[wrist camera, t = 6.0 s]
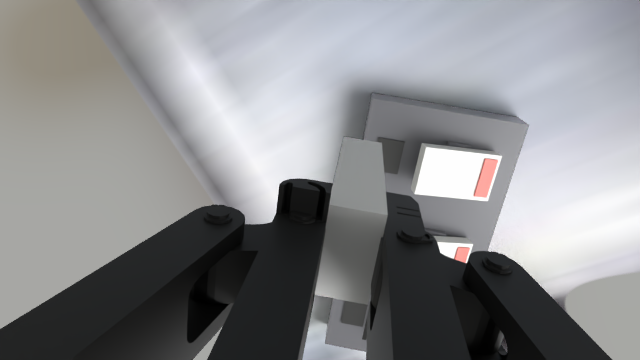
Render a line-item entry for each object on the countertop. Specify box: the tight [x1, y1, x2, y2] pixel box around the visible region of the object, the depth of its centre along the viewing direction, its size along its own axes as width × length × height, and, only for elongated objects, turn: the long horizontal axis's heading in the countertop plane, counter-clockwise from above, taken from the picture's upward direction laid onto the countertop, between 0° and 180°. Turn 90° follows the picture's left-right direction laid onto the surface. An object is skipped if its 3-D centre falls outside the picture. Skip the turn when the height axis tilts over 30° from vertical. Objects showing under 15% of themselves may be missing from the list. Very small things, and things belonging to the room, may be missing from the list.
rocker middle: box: [434, 236, 473, 263], centre depth 42 cm, size 4×7×1 cm, turn 81°
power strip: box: [325, 93, 529, 352], centre depth 45 cm, size 28×14×4 cm, turn 171°
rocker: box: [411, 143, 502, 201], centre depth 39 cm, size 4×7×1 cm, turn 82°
